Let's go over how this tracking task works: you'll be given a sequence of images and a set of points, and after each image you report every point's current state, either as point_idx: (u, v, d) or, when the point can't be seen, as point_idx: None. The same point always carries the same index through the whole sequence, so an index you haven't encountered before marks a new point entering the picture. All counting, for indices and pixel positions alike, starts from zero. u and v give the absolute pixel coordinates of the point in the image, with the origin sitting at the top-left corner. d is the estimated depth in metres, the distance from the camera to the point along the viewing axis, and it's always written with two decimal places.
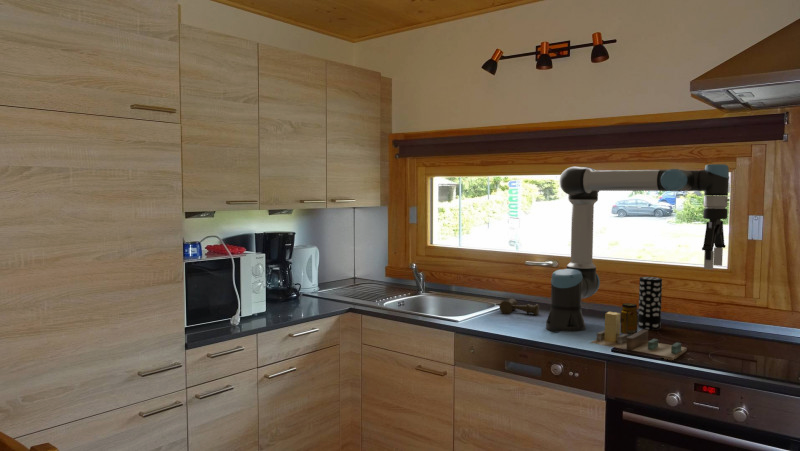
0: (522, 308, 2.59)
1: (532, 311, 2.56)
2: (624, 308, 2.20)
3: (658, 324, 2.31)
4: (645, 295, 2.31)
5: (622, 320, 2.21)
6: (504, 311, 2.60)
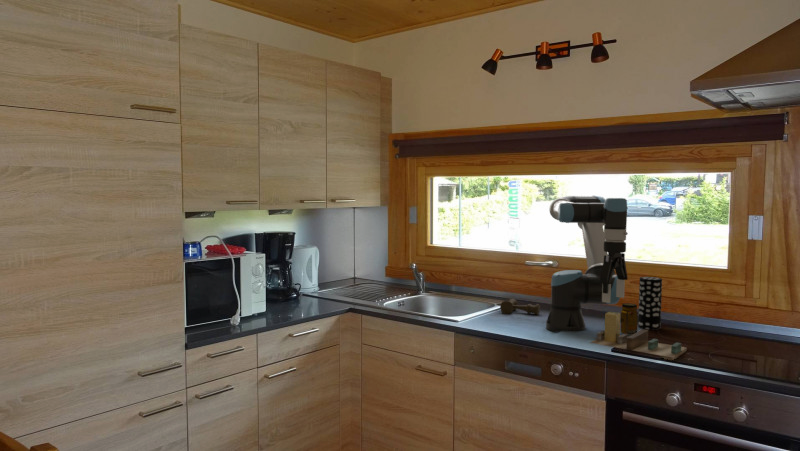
0: (523, 308, 2.59)
1: (533, 311, 2.57)
2: (624, 308, 2.20)
3: (658, 324, 2.31)
4: (645, 295, 2.31)
5: (622, 320, 2.21)
6: (505, 311, 2.60)
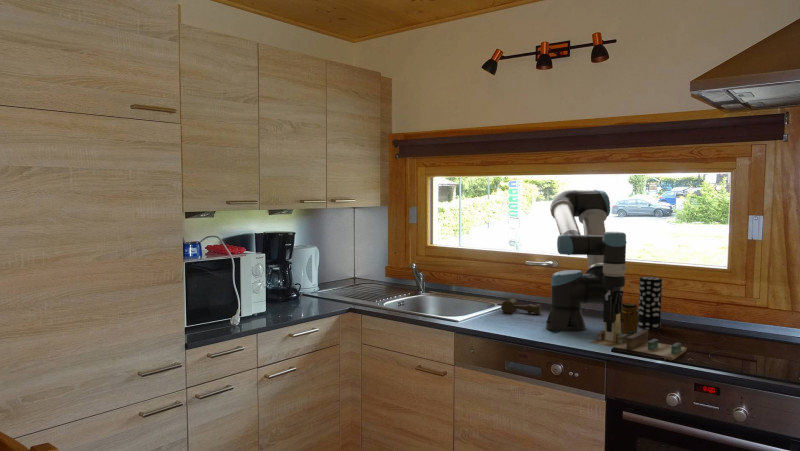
0: (524, 308, 2.60)
1: (534, 311, 2.57)
2: (624, 308, 2.20)
3: (658, 324, 2.31)
4: (645, 295, 2.31)
5: (622, 320, 2.21)
6: (506, 311, 2.59)
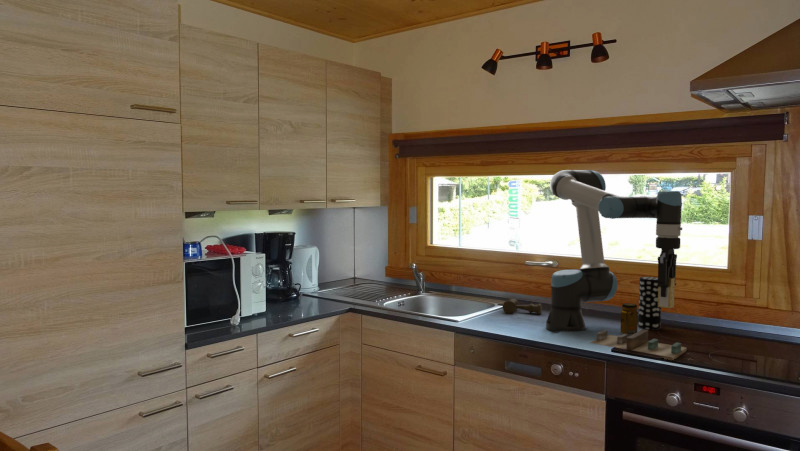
0: (525, 308, 2.60)
1: (535, 310, 2.58)
2: (624, 308, 2.20)
3: (658, 324, 2.31)
4: (645, 295, 2.31)
5: (622, 320, 2.21)
6: (507, 311, 2.60)
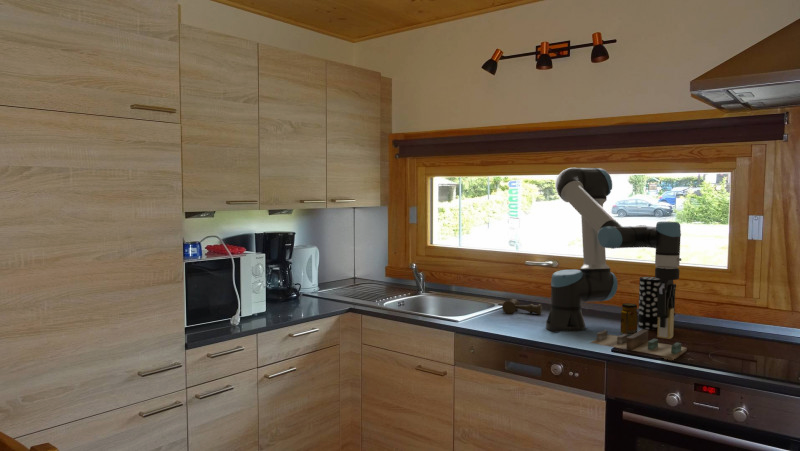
0: (525, 308, 2.59)
1: (535, 311, 2.57)
2: (624, 308, 2.20)
3: None
4: (645, 295, 2.31)
5: (622, 320, 2.21)
6: (507, 311, 2.59)
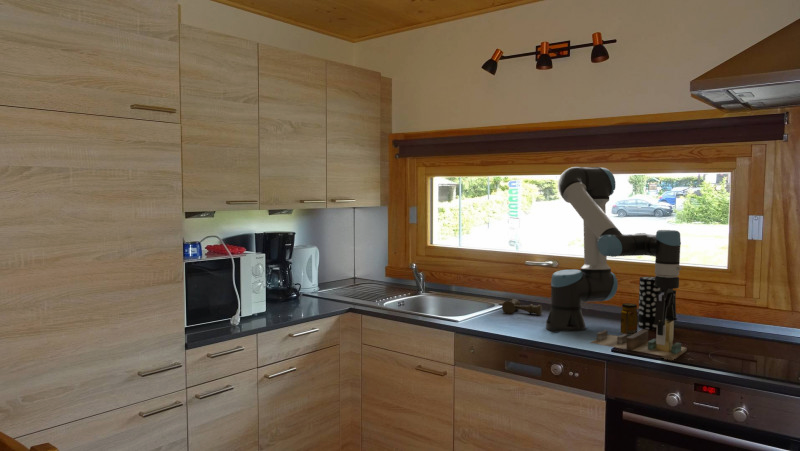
0: (525, 308, 2.59)
1: (535, 311, 2.56)
2: (624, 308, 2.20)
3: None
4: (645, 295, 2.31)
5: (622, 320, 2.21)
6: (507, 311, 2.59)
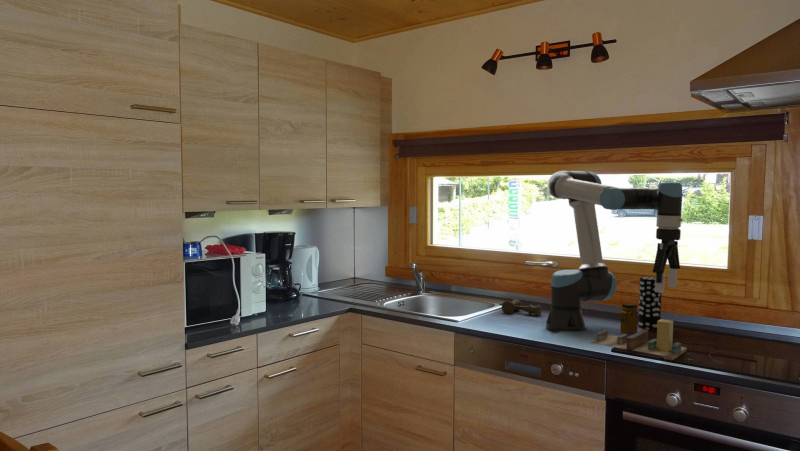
0: (524, 309, 2.58)
1: (534, 312, 2.55)
2: (624, 308, 2.20)
3: None
4: (645, 295, 2.31)
5: (622, 320, 2.21)
6: (506, 311, 2.59)
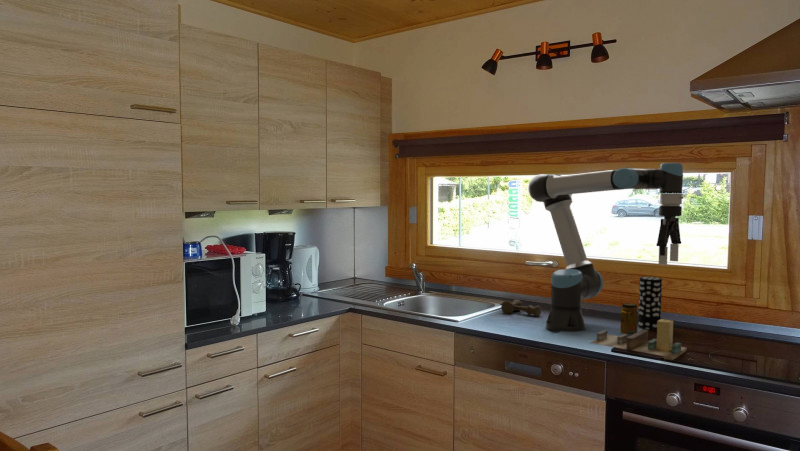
0: (523, 309, 2.57)
1: (532, 312, 2.54)
2: (624, 308, 2.20)
3: None
4: (645, 295, 2.31)
5: (622, 320, 2.21)
6: (505, 311, 2.59)
